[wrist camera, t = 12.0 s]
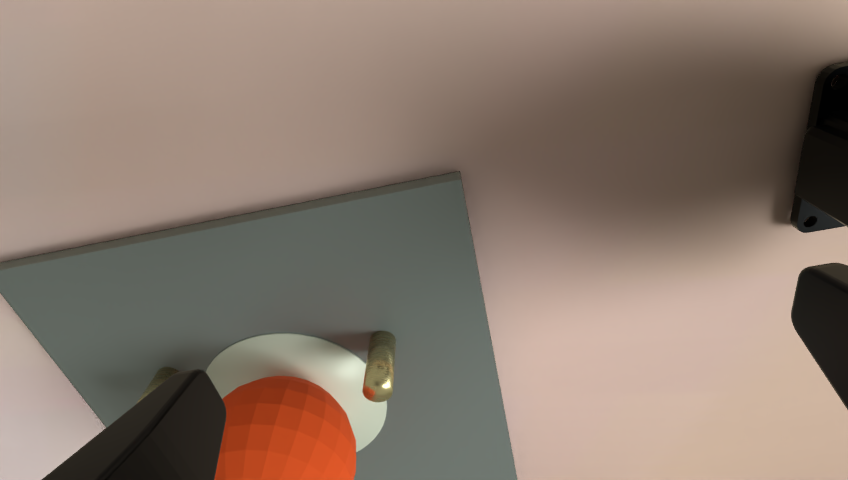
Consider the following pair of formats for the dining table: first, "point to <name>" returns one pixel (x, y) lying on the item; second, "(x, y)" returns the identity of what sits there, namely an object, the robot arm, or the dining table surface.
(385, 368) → the brass pins
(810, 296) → the robot arm
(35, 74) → the dining table surface
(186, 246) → the nest plate
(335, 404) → the clementine
